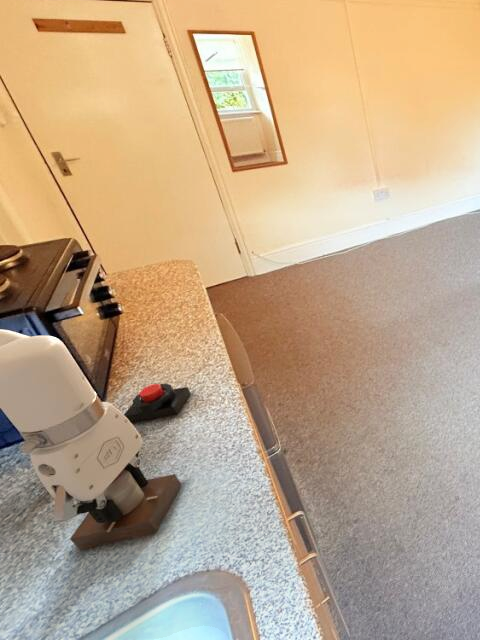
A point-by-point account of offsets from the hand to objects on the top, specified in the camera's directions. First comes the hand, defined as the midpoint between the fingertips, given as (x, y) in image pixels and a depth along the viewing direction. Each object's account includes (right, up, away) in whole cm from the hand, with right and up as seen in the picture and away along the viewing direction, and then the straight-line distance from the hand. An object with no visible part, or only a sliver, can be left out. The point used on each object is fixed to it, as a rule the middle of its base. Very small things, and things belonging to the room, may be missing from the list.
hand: (124, 501), depth 62 cm
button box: (-14, +6, +22) cm, 27 cm away
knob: (0, -1, 0) cm, 1 cm away
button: (-14, +9, +20) cm, 26 cm away
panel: (0, -3, +2) cm, 4 cm away
